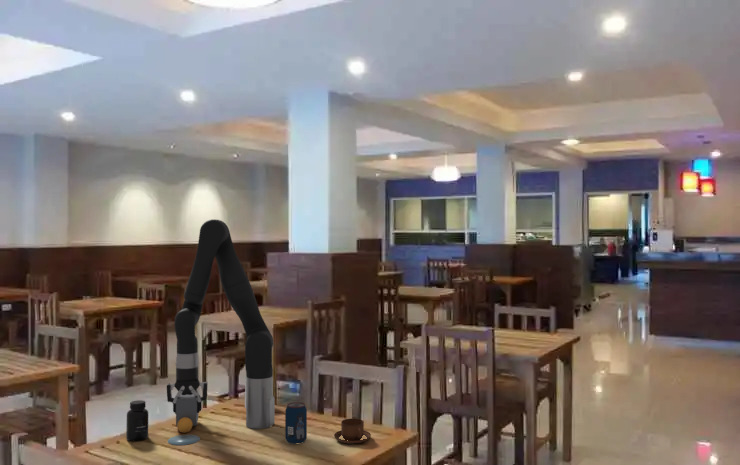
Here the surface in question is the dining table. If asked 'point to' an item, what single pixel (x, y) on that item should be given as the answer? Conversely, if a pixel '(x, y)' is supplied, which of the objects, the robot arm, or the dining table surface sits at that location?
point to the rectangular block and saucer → (352, 431)
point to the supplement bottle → (137, 421)
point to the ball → (184, 425)
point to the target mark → (183, 440)
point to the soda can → (296, 422)
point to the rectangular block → (187, 408)
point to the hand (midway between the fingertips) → (187, 412)
